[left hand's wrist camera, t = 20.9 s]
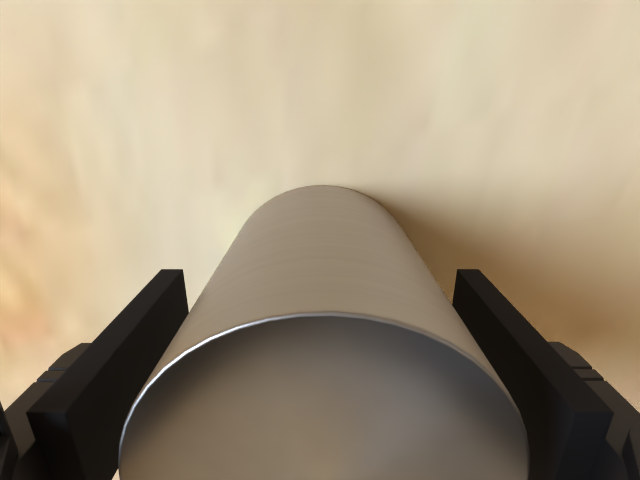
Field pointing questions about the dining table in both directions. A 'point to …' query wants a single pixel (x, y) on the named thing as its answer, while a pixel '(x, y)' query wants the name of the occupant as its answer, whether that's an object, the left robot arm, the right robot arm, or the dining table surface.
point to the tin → (323, 363)
